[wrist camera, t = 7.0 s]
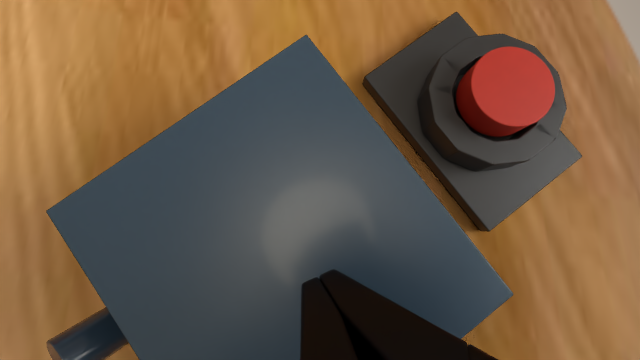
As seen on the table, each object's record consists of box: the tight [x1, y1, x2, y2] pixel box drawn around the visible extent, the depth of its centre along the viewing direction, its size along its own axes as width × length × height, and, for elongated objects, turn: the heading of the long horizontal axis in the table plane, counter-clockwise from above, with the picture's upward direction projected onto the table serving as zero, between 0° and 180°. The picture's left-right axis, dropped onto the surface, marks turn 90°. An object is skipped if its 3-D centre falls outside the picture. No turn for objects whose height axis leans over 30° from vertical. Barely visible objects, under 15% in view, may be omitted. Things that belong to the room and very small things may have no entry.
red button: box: [456, 47, 555, 137], centre depth 17 cm, size 4×4×2 cm
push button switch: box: [362, 12, 582, 231], centre depth 19 cm, size 11×8×3 cm
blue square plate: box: [46, 35, 513, 360], centre depth 12 cm, size 12×12×1 cm
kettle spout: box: [47, 307, 129, 360], centre depth 15 cm, size 2×5×5 cm, turn 127°
